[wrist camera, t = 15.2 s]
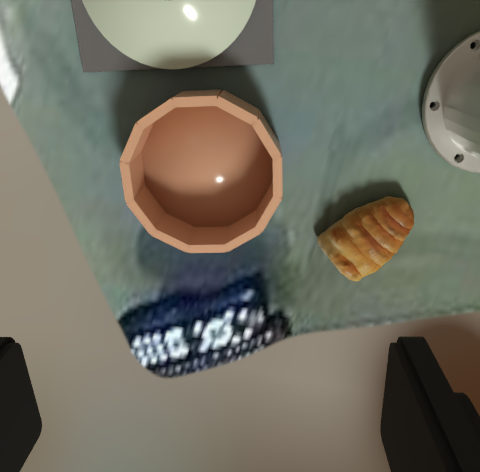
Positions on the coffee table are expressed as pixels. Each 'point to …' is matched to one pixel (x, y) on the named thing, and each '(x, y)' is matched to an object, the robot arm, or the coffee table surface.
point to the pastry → (367, 236)
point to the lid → (170, 28)
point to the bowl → (203, 171)
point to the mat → (238, 53)
